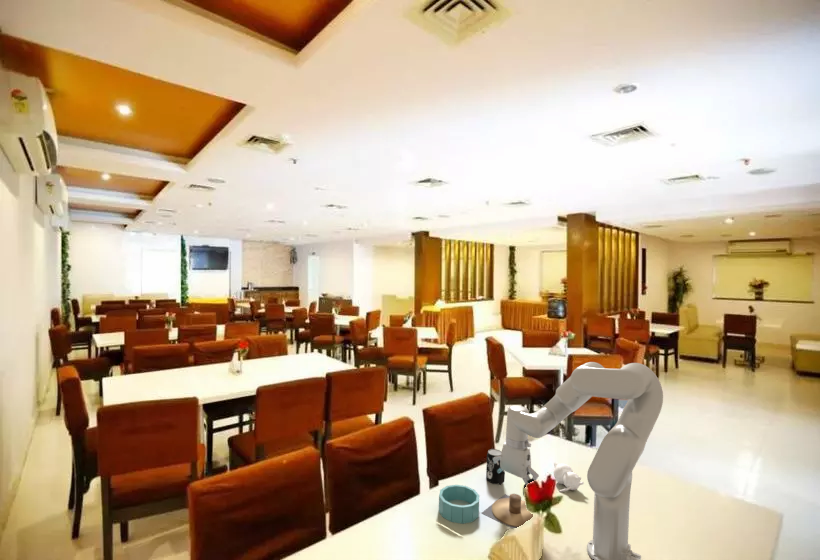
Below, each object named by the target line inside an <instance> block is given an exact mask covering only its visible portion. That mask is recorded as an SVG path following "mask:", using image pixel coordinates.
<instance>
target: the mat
mask: <svg viewBox="0 0 820 560" xmlns="http://www.w3.org/2000/svg"><path fill="white" fill-rule="evenodd" d="M509 497H510V495H508V494H506V493H504V494H503V495H502V496H500V498H498V499H497V500H499V499H503V498H509ZM492 505H493V503H492V504H491V505H489V506H488V507H487V508H486V509H485V510H482V512H481V514H482V515H484V516H486V517H488V518H490V519H493V520H494V521H496V522H498V523H500V524H503V525H505V526H506V527H508V528H511V529H512V528H517V527H514V526H510V525H507V524H505V523H503V522H501V521H499V520H498V519H497V518H496V517H495V516H494V515H493V513H492Z"/></svg>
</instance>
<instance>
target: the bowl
mask: <svg viewBox="0 0 820 560" xmlns="http://www.w3.org/2000/svg"><path fill="white" fill-rule="evenodd" d="M438 512H439V514H440V515H441V517H442V518H443V519H445V520H447V521H449V522H450V523H454V524H455V523H457V524H462V525H463V524H468V523H473V522H474V521H475V520H477V519H478V518H479V516H480V515H479V514H480V494H479V493H478V492H477V491H476V490H475V489H473V488H472V487H469V486H466V485H463V484H462V485H461V484H451V485H446V486H444V487H443V488H441V489H440V490H439V495H438Z"/></svg>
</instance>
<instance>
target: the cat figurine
mask: <svg viewBox="0 0 820 560" xmlns="http://www.w3.org/2000/svg"><path fill="white" fill-rule="evenodd" d="M553 465H554V469H553V476H554V477H553V478H554V479H555V481H556V482H557V483H558V484H561V485H564V486H565V488H562V489H559V490H558V491H559V492H561V493H564V492H567V491H569V490H570V491H575V490H578V488H579V487H580V486H582V485H584V484H585V483H584V481H581V479H582V477H581V476H579V475H578V473H576V472H573V471H574V470H573V469H572V467H571V466H570V465H568V464H566V463H559V462H553Z"/></svg>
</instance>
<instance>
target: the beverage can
mask: <svg viewBox="0 0 820 560" xmlns="http://www.w3.org/2000/svg"><path fill="white" fill-rule="evenodd" d="M501 452H502V450H500V449H497V448H496V449H495V448H491V449H488V451H487V454H486V469H485V470H486V472H485V474H486V475H485V479H486V480H487V482H488V483H491V484H493V485H497V484H498V482H499V481H498V473H497V469H496V467H495V466H494V465H495V464H494V462H493V458H494V457H496V456H501ZM498 463H499V464H500V460H499V461H498ZM498 485H499V484H498Z"/></svg>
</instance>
